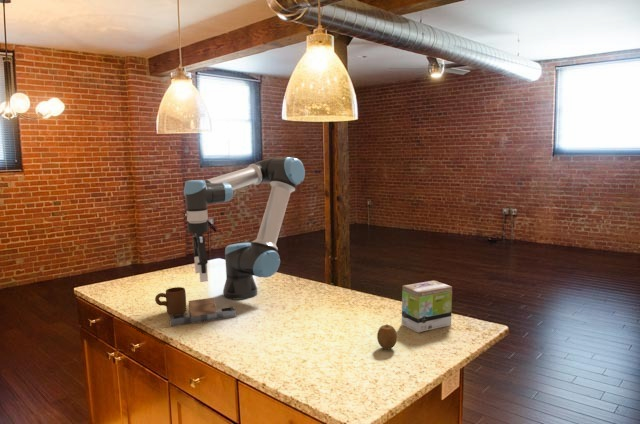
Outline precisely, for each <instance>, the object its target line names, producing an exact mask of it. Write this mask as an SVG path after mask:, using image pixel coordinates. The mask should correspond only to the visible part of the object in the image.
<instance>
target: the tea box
mask: <svg viewBox="0 0 640 424" xmlns="http://www.w3.org/2000/svg"><path fill="white" fill-rule="evenodd" d="M401 287H402V288H401V289H402V291H401V293H402V295H401V296H402V297H401V325H403V326H404V327H406V328H408V329H410V330H411V331H414V332H416V333H419V334H420V333H422V332H425V331H426V332H427V331H430V330H435V329H440V328H446V327H450V326H451V325H452V314H453V313H452V310H453V309H452V308H453V307H452V304H453V303H452V302H453V286H451V285H448V284H447V283H443V282H439V281H438V280H428V281H424V282H417V283H412V284H404V285H402V286H401Z"/></svg>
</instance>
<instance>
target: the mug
mask: <svg viewBox="0 0 640 424" xmlns="http://www.w3.org/2000/svg"><path fill="white" fill-rule="evenodd" d="M160 298H165V300H161V299H160ZM154 300H155V303H156V305H158V306H163V307H166V313H167V314H168V315H169V316H170V315H177V314H184V313H187V295H186V289H185V288H184V287H183V286H182V287H181V286H180V287H179V286H177V287H176V286H175V287H170V288H167V289H166V290H165V293H164V292H160V293H157V294H156V296H155V299H154Z"/></svg>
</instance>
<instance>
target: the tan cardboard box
mask: <svg viewBox="0 0 640 424" xmlns="http://www.w3.org/2000/svg"><path fill="white" fill-rule="evenodd" d="M216 309H217V308H216V302H215V300H214V298H213V297H208V298H207V297H206V298H200V299H193V300H188V311H189V312H188V313H190V314H191V317H192V316H199V315H206V314H213V313H216Z"/></svg>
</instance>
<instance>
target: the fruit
mask: <svg viewBox="0 0 640 424" xmlns="http://www.w3.org/2000/svg"><path fill="white" fill-rule="evenodd" d="M376 338H377V339H376V340H377V342H378V344H379V346H380V347H381V348H383V349H385V350H389V349H393V348H394V347H395V345H396V343H397V341H398V335H397V331H396V329H395V328H394V326H392V325H391V324H384V325H381V326H380V327H379V328H378V330H377V336H376Z"/></svg>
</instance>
